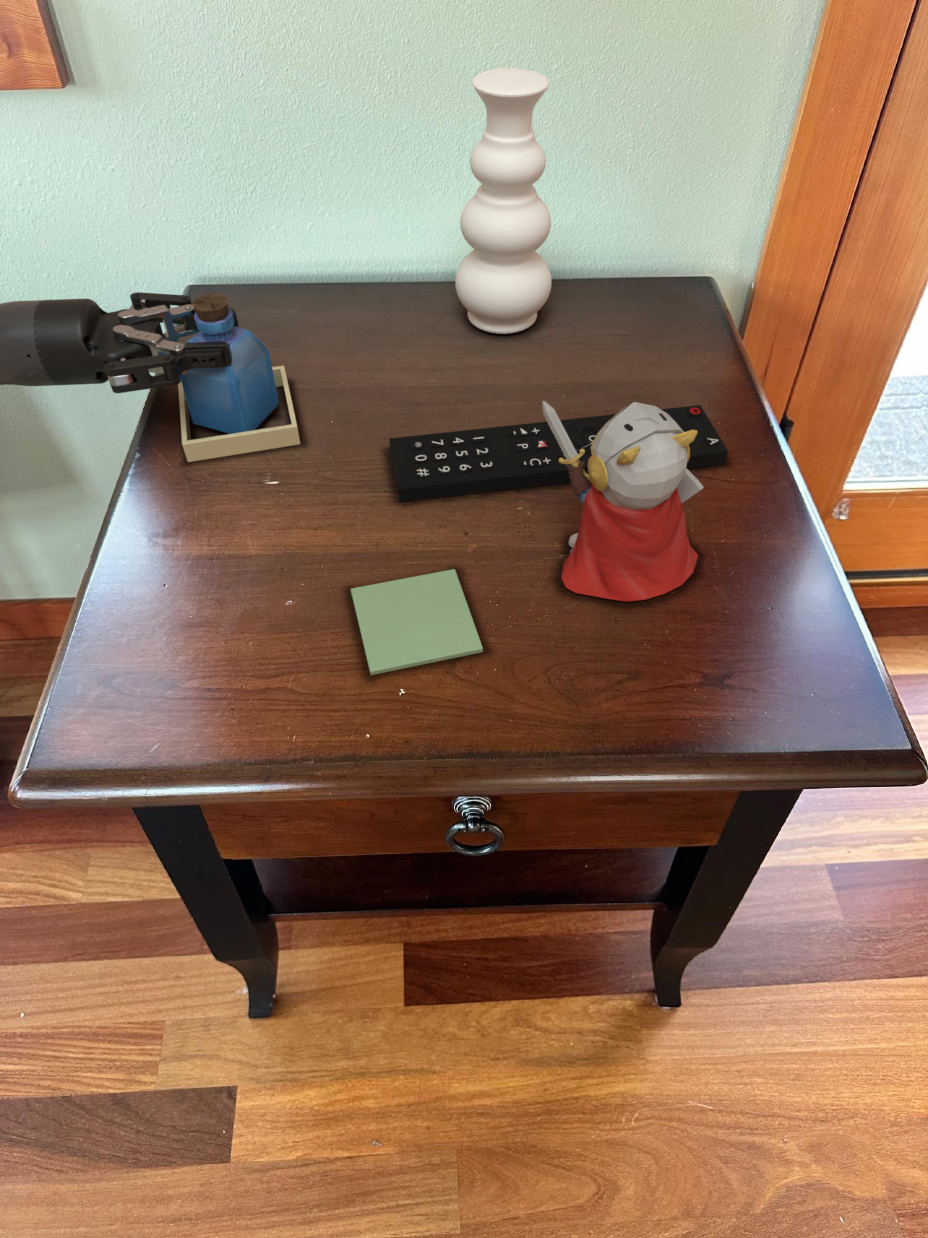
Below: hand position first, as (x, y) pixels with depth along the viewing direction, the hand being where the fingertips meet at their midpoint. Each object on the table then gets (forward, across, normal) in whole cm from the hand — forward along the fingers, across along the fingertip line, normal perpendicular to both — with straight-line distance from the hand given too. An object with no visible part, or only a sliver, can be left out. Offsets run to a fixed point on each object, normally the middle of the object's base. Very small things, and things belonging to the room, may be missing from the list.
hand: (232, 336), depth 78 cm
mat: (+15, -28, +10) cm, 34 cm away
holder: (-1, 0, +10) cm, 10 cm away
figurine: (+34, -22, +10) cm, 41 cm away
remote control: (+30, -8, +10) cm, 33 cm away
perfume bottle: (-1, 0, +9) cm, 9 cm away
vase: (+28, +18, +9) cm, 34 cm away
